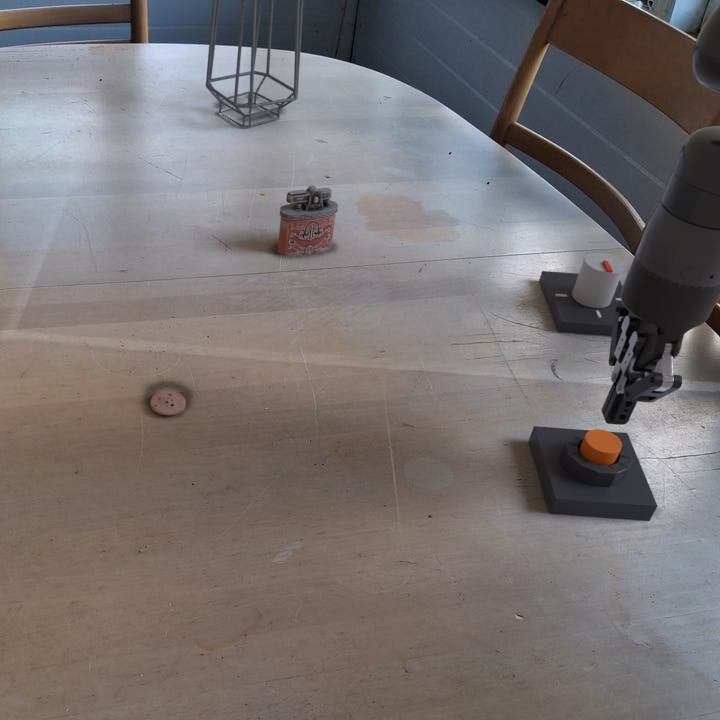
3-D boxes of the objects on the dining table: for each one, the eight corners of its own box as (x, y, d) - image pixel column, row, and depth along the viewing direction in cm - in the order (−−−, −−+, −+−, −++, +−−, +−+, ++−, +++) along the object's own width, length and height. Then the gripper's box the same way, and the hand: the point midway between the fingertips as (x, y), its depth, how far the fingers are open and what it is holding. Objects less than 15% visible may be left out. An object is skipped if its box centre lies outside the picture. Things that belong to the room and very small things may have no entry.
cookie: (152, 419, 96) (152, 411, 95) (148, 395, 99) (147, 388, 98) (188, 416, 97) (188, 408, 96) (183, 393, 100) (183, 385, 99)
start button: (610, 443, 92) (616, 430, 91) (620, 467, 89) (626, 454, 88) (575, 440, 92) (581, 427, 91) (584, 464, 89) (589, 451, 88)
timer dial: (567, 286, 115) (580, 249, 112) (604, 288, 116) (619, 251, 112) (577, 307, 112) (590, 269, 108) (615, 309, 112) (630, 271, 108)
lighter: (324, 248, 125) (334, 179, 118) (335, 260, 123) (345, 190, 116) (271, 256, 123) (277, 186, 116) (281, 268, 120) (288, 198, 114)
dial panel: (610, 296, 120) (618, 275, 118) (635, 348, 112) (644, 326, 109) (535, 290, 120) (542, 269, 118) (554, 342, 111) (562, 320, 109)
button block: (620, 448, 97) (633, 419, 95) (649, 521, 89) (664, 492, 87) (528, 441, 97) (538, 412, 94) (549, 514, 89) (561, 485, 86)
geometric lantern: (260, 94, 165) (276, -134, 141) (312, 125, 156) (339, -113, 132) (187, 109, 158) (190, -129, 134) (237, 143, 149) (251, -106, 125)
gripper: (757, 306, 71) (672, 467, 83) (702, 225, 81) (632, 380, 93) (662, 299, 71) (591, 462, 83) (618, 218, 81) (560, 375, 92)
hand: (613, 418), depth 88 cm, fingers closed
